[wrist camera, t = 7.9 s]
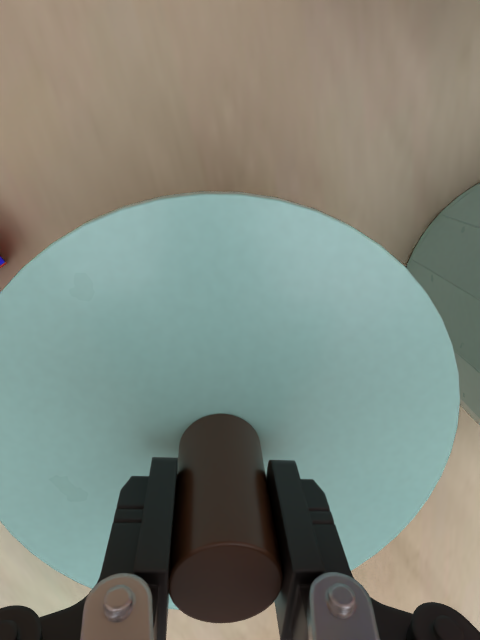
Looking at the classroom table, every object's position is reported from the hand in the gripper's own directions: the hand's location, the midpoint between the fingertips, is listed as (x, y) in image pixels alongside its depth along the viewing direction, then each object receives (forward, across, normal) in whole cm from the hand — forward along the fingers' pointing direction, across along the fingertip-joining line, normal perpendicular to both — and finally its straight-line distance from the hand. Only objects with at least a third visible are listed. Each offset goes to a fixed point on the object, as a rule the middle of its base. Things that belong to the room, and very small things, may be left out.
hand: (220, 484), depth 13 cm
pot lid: (+2, 0, 0) cm, 2 cm away
